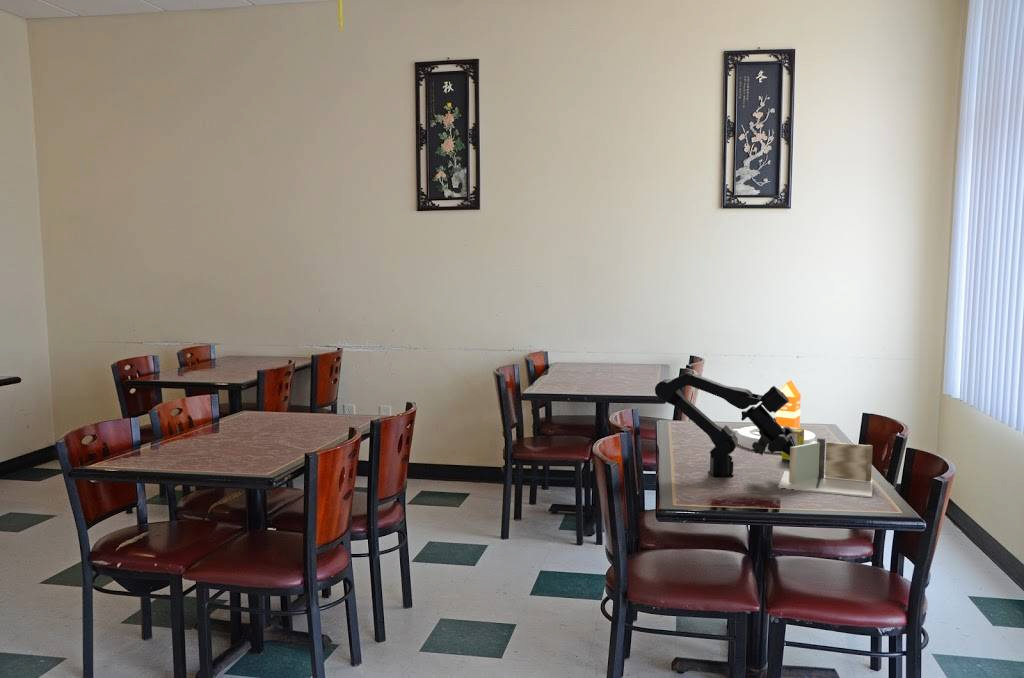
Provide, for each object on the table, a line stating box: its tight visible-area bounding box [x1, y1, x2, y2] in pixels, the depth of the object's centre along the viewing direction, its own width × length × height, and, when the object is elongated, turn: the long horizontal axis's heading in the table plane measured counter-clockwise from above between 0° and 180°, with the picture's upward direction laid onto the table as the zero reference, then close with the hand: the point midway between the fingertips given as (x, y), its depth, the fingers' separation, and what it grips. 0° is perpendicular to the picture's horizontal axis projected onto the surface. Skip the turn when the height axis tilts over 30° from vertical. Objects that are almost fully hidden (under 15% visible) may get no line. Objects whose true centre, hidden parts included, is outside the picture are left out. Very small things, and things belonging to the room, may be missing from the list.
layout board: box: [777, 470, 874, 499], centre depth 269 cm, size 27×21×1 cm
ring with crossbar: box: [731, 425, 816, 454], centre depth 326 cm, size 28×28×5 cm
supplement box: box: [781, 428, 805, 463], centre depth 300 cm, size 6×6×11 cm
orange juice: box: [775, 380, 801, 429], centre depth 352 cm, size 8×9×20 cm
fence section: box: [816, 437, 874, 482], centre depth 272 cm, size 16×2×13 cm, turn 67°
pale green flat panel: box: [788, 441, 820, 484], centre depth 270 cm, size 2×13×11 cm, turn 125°
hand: (799, 460), depth 271 cm, fingers closed
